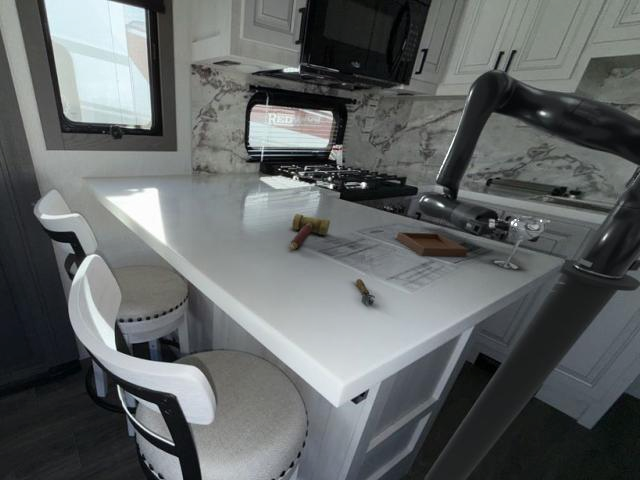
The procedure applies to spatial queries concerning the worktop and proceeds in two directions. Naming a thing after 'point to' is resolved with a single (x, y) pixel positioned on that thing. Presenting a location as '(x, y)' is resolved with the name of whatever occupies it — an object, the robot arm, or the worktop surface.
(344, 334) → the worktop surface
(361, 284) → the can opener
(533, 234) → the wineglass
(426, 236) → the tray
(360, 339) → the worktop surface
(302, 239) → the gavel
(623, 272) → the robot arm
